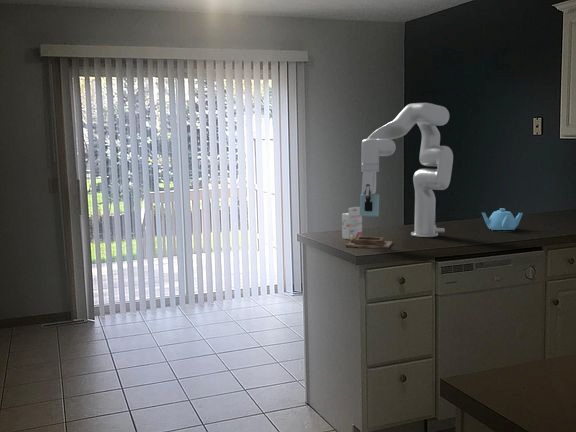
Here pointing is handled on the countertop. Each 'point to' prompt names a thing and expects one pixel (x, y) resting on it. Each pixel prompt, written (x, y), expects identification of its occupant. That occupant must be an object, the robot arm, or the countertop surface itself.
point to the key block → (374, 206)
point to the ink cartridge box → (351, 223)
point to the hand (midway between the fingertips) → (369, 210)
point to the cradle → (369, 242)
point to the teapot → (502, 220)
